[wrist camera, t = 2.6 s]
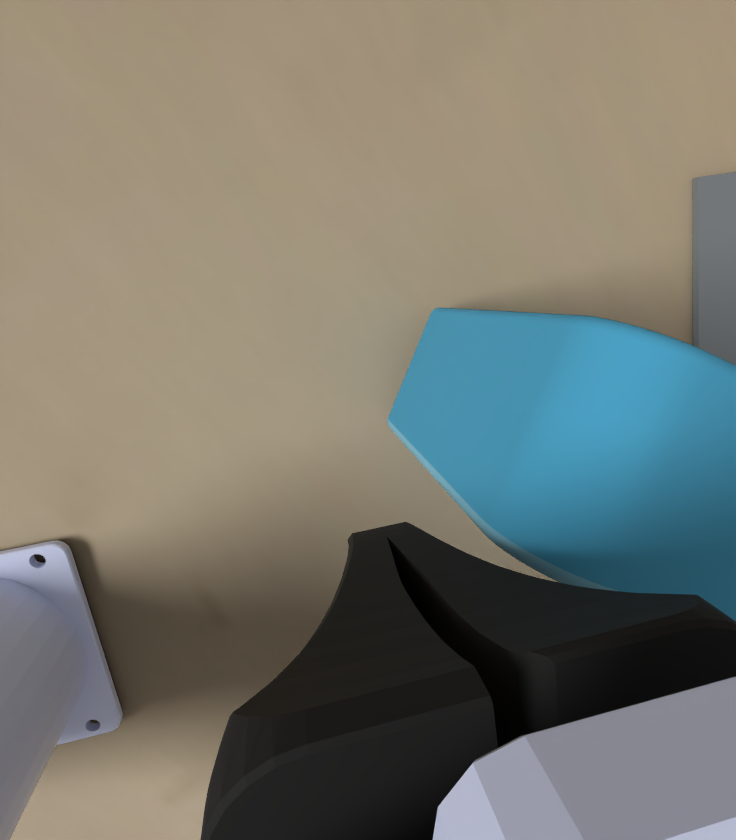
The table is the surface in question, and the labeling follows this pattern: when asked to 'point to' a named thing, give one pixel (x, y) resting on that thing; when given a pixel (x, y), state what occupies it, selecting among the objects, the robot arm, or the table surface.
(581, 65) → the table surface
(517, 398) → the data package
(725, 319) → the mat
